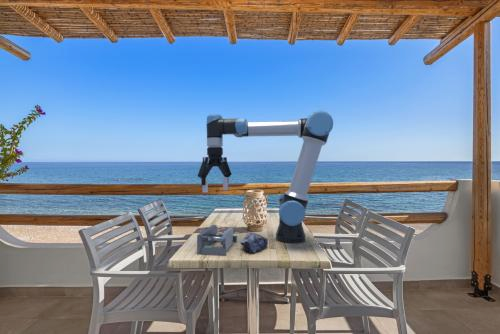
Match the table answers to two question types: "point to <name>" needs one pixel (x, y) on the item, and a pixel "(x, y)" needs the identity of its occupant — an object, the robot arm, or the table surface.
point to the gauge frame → (210, 242)
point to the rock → (254, 242)
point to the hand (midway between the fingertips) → (215, 191)
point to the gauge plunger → (224, 238)
